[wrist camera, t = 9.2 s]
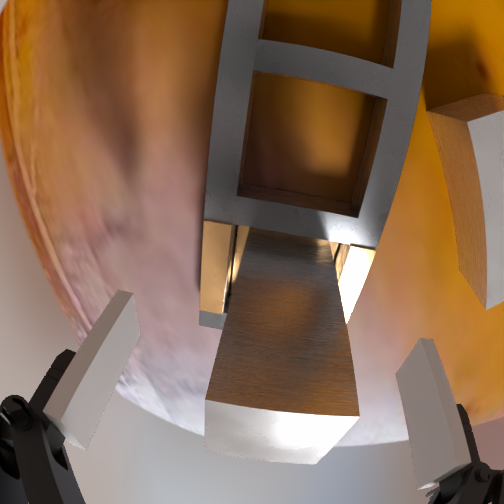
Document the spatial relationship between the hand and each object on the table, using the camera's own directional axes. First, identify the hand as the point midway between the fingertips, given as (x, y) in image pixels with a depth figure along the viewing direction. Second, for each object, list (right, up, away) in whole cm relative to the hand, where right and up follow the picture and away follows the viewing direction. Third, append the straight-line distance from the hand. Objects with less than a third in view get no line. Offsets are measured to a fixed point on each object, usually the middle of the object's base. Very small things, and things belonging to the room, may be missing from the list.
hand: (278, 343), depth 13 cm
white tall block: (+1, +3, +5) cm, 6 cm away
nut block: (+13, +8, +2) cm, 15 cm away
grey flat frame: (+2, +10, +2) cm, 10 cm away
